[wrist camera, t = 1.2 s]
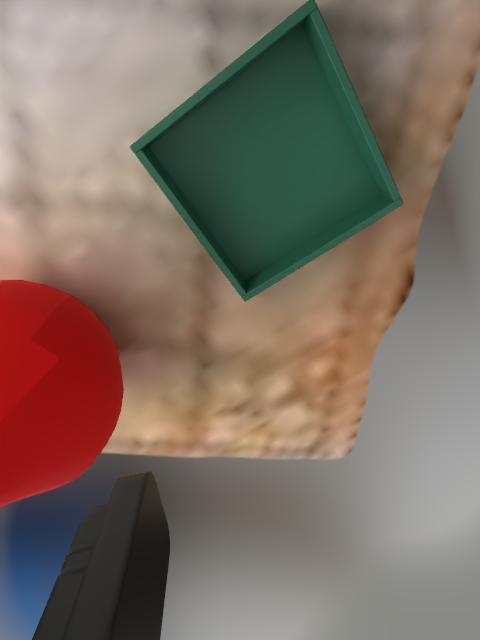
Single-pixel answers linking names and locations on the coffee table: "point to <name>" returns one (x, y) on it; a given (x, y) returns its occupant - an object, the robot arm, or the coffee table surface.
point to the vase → (52, 388)
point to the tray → (272, 157)
